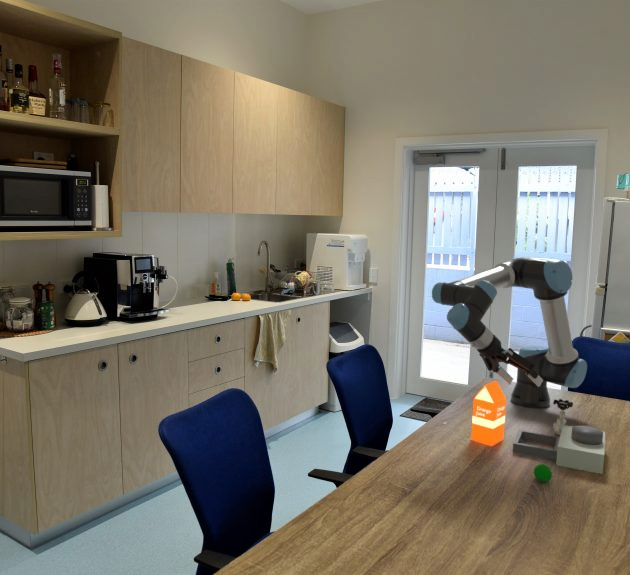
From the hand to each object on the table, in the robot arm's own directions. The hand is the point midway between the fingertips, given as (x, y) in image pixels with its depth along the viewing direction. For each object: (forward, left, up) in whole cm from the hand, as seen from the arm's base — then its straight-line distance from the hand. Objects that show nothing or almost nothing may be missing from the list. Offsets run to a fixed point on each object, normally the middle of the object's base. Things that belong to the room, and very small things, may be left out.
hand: (525, 382), depth 200 cm
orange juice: (+3, -11, -21) cm, 24 cm away
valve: (-15, +11, -21) cm, 28 cm away
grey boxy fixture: (+3, +12, -21) cm, 24 cm away
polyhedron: (+28, +9, -21) cm, 36 cm away
